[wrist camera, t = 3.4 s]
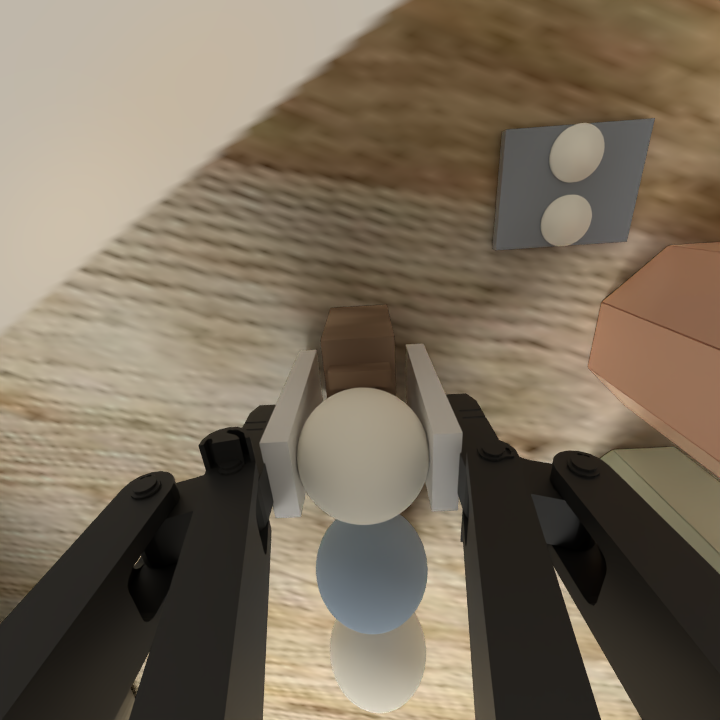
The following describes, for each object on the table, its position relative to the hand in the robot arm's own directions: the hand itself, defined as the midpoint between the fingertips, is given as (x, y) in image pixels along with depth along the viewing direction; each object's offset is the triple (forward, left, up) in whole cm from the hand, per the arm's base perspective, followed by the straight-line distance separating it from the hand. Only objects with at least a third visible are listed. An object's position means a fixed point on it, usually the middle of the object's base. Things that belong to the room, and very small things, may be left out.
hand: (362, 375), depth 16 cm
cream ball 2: (0, -10, +3) cm, 11 cm away
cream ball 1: (0, 0, +3) cm, 3 cm away
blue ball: (0, -5, +3) cm, 6 cm away
